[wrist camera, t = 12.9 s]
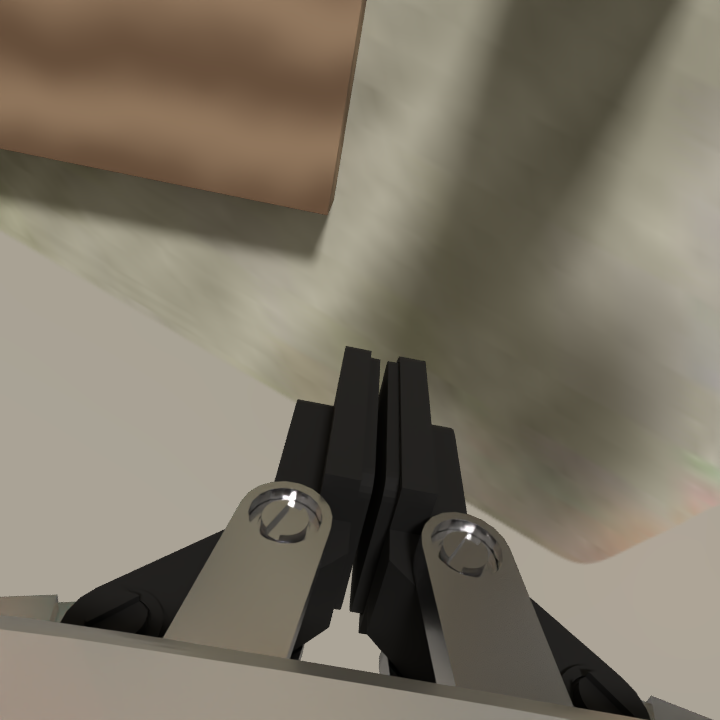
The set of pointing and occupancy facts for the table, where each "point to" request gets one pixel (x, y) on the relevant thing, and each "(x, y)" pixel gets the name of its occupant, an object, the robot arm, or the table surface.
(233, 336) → the table surface
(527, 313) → the table surface
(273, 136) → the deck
